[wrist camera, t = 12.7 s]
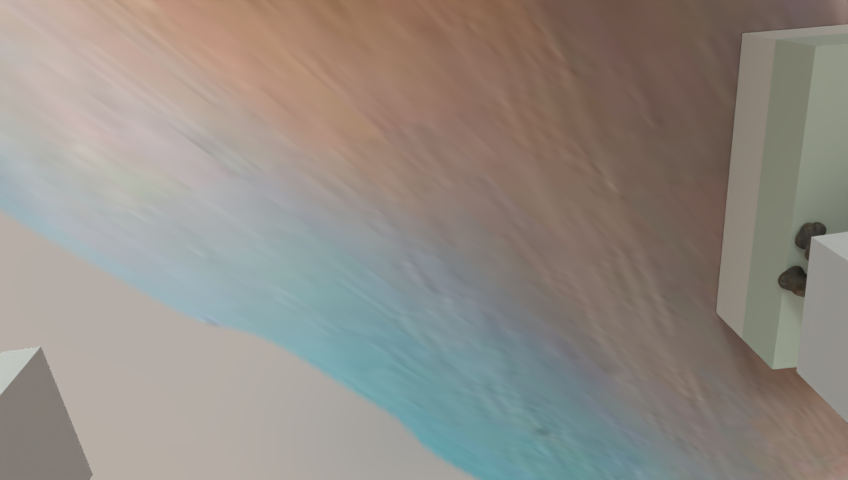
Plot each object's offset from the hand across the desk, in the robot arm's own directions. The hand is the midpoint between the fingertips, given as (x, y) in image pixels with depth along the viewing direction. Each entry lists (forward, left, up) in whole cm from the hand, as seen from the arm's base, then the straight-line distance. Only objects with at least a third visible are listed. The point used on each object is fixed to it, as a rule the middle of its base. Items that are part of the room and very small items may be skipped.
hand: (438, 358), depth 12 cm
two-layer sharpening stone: (+8, +25, -29) cm, 39 cm away
